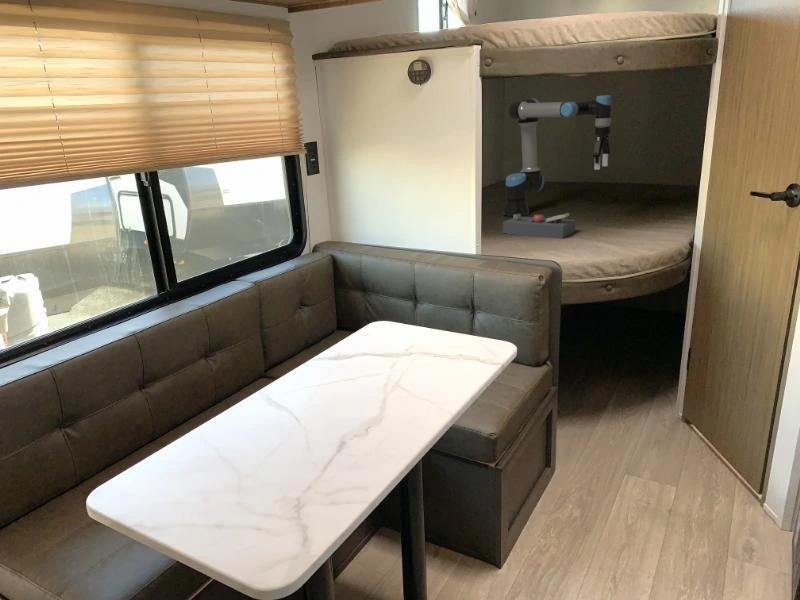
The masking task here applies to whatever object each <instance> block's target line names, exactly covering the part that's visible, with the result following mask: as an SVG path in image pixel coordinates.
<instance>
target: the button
mask: <svg viewBox="0 0 800 600" xmlns="http://www.w3.org/2000/svg"><path fill="white" fill-rule="evenodd" d="M533 217H534V222H538V223H542V222H543V218H545V216H544V214H540V213H539V214H538V213H537V214H533Z"/></svg>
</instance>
